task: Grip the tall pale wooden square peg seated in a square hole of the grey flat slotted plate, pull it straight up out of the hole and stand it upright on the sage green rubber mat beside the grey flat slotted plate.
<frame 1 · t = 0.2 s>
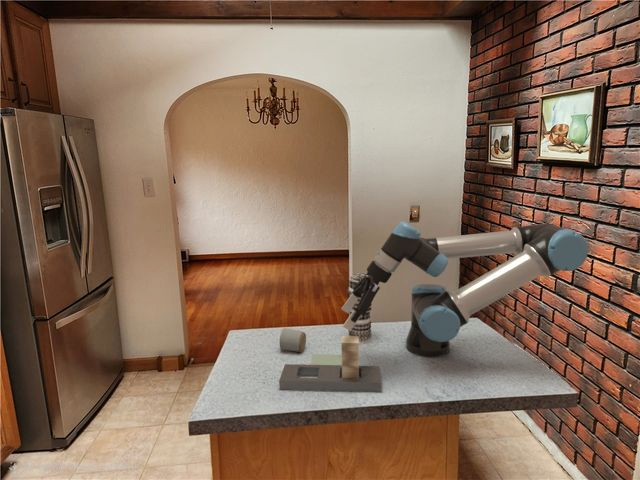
hand: (345, 319, 135), 16 cm above the counter, tool tilted 35°, fingers open, 13 cm apart
decorative candle: (359, 339, 157), on the counter
mat: (327, 363, 139), on the counter
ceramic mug: (293, 348, 151), on the counter
peg: (350, 382, 126), resting in grey flat slotted plate
grey flat slotted plate: (331, 382, 127), on the counter
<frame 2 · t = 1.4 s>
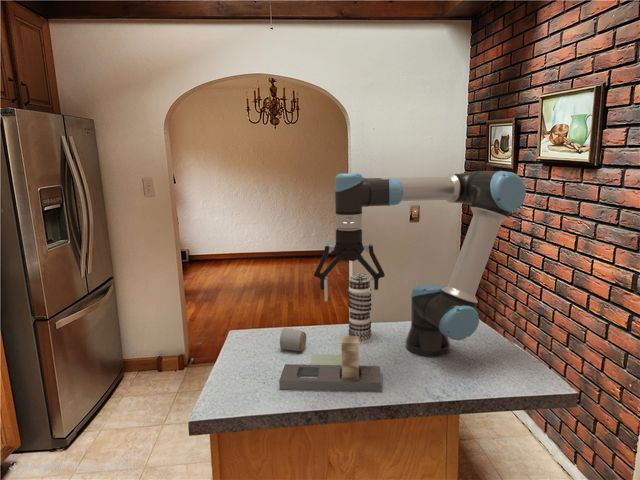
hand: (349, 300, 122), 26 cm above the counter, tool pointing down, fingers open, 13 cm apart
nothing on the counter moved.
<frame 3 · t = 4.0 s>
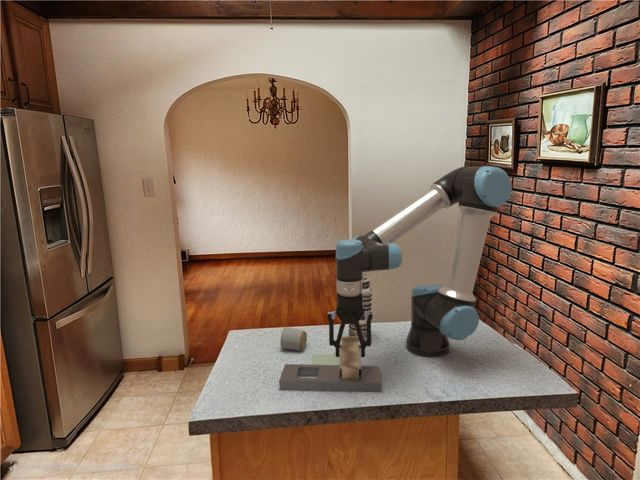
hand: (350, 366, 125), 5 cm above the counter, tool pointing down, fingers closed on peg, 5 cm apart
peg: (350, 382, 126), resting in grey flat slotted plate, touching gripper
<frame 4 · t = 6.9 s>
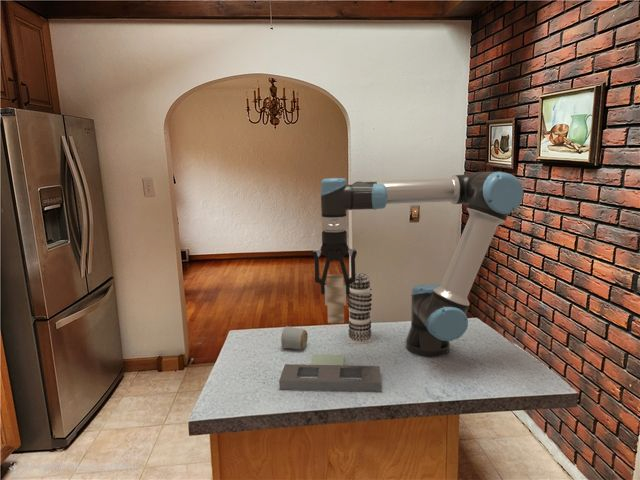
hand: (335, 303, 129), 23 cm above the counter, tool pointing down, fingers closed on peg, 5 cm apart
peg: (336, 319, 130), point 17 cm above the counter, touching gripper
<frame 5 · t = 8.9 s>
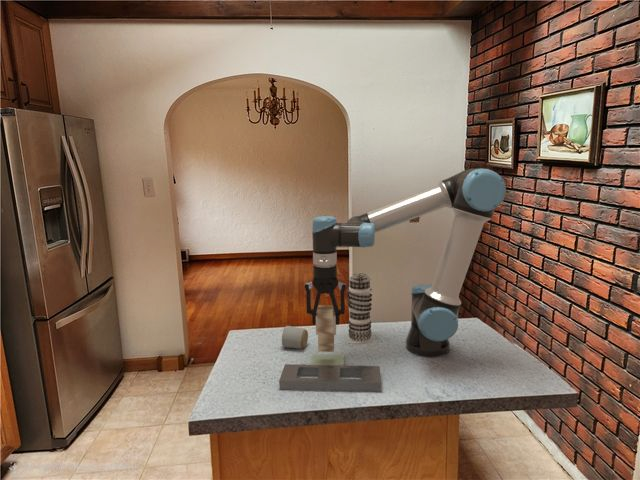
hand: (326, 333, 137), 11 cm above the counter, tool pointing down, fingers closed on peg, 5 cm apart
peg: (326, 348, 138), point 5 cm above the counter, touching gripper
when the fingers open (7 cm above the counter, at t = 10.2 s): peg drops 1 cm, resting on mat.
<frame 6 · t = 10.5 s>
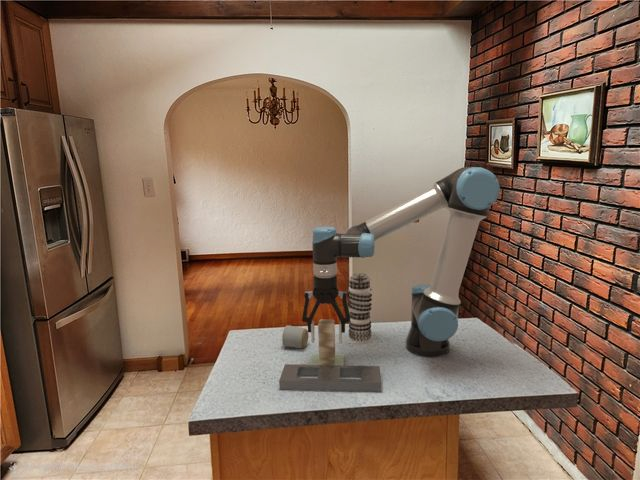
hand: (326, 341, 137), 8 cm above the counter, tool pointing down, fingers open, 8 cm apart
peg: (327, 361, 139), resting on mat
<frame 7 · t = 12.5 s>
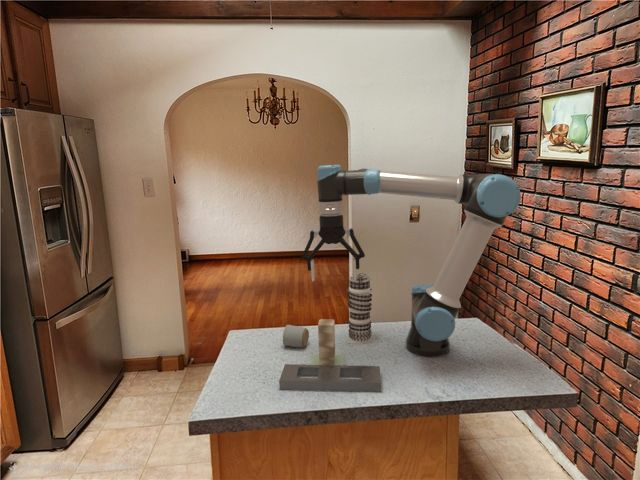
hand: (334, 279, 135), 29 cm above the counter, tool pointing down, fingers open, 13 cm apart
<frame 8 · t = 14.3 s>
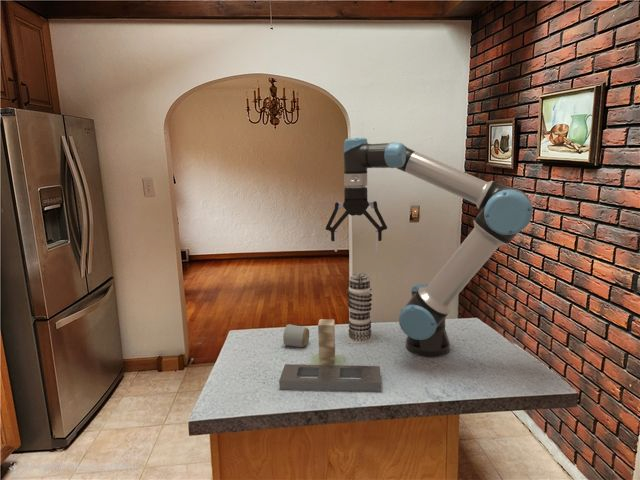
hand: (356, 250, 139), 37 cm above the counter, tool pointing down, fingers open, 13 cm apart
at the end: peg inside the target area on the mat (0.0 cm from its centre), point 0.5 cm above the mat's base; peg tilted 0°; the gripper is holding nothing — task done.
